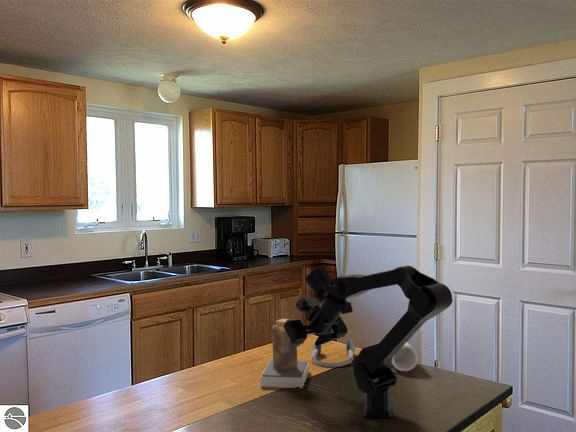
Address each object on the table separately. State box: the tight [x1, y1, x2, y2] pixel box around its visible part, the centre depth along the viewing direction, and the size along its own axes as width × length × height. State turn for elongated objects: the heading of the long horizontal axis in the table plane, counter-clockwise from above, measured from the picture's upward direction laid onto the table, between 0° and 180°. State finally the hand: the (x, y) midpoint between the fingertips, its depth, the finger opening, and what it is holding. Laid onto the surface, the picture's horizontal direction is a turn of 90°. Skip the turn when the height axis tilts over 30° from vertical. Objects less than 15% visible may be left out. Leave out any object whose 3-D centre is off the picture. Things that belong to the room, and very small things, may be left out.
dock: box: [259, 360, 310, 389], centre depth 147 cm, size 14×12×3 cm
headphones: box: [311, 338, 365, 368], centre depth 166 cm, size 17×6×20 cm
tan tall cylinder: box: [271, 324, 298, 372], centre depth 147 cm, size 5×5×12 cm
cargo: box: [275, 318, 290, 327], centre depth 147 cm, size 3×3×2 cm
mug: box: [391, 341, 419, 372], centre depth 156 cm, size 12×10×8 cm
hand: (303, 347), depth 141 cm, fingers open, 9 cm apart
